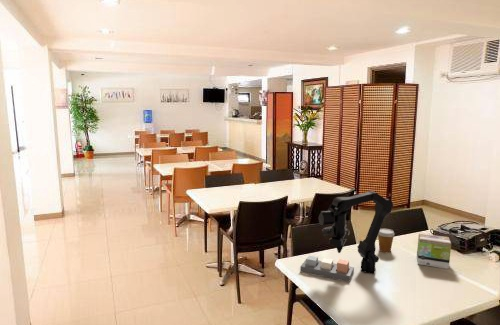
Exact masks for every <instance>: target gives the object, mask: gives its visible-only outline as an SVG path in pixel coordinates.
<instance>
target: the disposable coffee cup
mask: <svg viewBox="0 0 500 325" xmlns="http://www.w3.org/2000/svg"><path fill="white" fill-rule="evenodd" d="M394 236H395V232H394V230H393V229H390V228H380V231H379V234H378V236H377V238H378V249H379V251H380V252H383V253H391V251H392V245H393V241H394Z"/></svg>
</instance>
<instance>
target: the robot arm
mask: <svg viewBox="0 0 500 325" xmlns="http://www.w3.org/2000/svg"><path fill="white" fill-rule="evenodd" d="M371 201H372V202H374V204H375V205H374V212H375V214H374V216H373V219H372V220H371V223H370V226H369V229H368V231H367V234H366V237H365V239H363V240H360V241H359V243H358V245H357V252H358V254H359V255H360V257H361V258H362V259H361V261H360V269H361V272H362V273H363V272H364V273H367V274H372V275H373V274H375V272H376V263H378V262H379V260H380V258H379V257H378V256H377V255H376V241H377V238H378V234H379V231H380V229H382V225H383V223H384V220H385V218H386V216H388V215H389V214H390V213H391V212H392V210H393V208H394V203H393V201H392V200H391V199H388V198H385V197H383V196H381V195H380V193H377V192H375V191H374V190H373V191H372V190H368V191H367V192H363V193H360V194H355V195H351V196H337V197H335V198H333V200H332V203H331V204H329V207H328V209H327V210H321V211H320V213H319V215H318V223H319V225H320V226H326V227H323V228H322V229H321V234H322V235H323V237H326V236H331V237H330V238H329V239H328V245H329V246H335V248H336V251H337V253H338V254H341V252H342V250H343V249H344V245H345V243H346V241H347V240H348V238H347V237H345V236H348V237H349V235H350V229H349V228H347V222H346V221H347V219H346V218H347V215H350V214H351V212H349V209H351V208H352V207H353V206H356V205H360V204H364V203H368V202H371ZM328 225H330V226H328ZM331 225H332V226H331Z"/></svg>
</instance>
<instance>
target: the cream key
mask: <svg viewBox="0 0 500 325" xmlns="http://www.w3.org/2000/svg"><path fill="white" fill-rule="evenodd" d="M320 261H321V268H323V269H328V270H332V269H333V263H334V259H331V258H324V257H323V259H322V260H320Z"/></svg>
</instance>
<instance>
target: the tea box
mask: <svg viewBox="0 0 500 325" xmlns="http://www.w3.org/2000/svg"><path fill="white" fill-rule="evenodd" d="M417 240H418V241H417V247H416V248H417V249H416V261H417V265H422V266H429V267H434V268H440V269H444V270H445V269H446V270H449V268H450V267H449V266H450V262H451V261H450V260H451V252H452V250H451V249H452V242H451V240H450V237H449V236H442V235H441V236H440V235H433V234H424V233H418V238H417Z"/></svg>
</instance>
